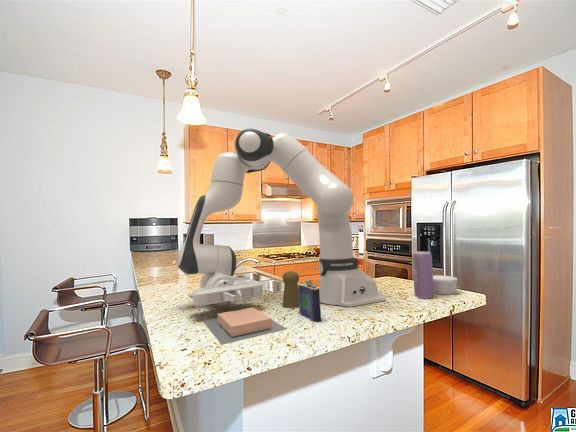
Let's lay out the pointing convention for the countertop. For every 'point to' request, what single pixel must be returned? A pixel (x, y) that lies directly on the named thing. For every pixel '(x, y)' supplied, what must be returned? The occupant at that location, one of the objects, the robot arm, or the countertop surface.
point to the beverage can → (423, 275)
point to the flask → (309, 301)
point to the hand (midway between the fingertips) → (236, 298)
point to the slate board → (227, 338)
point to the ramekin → (444, 284)
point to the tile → (244, 321)
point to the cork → (291, 290)
